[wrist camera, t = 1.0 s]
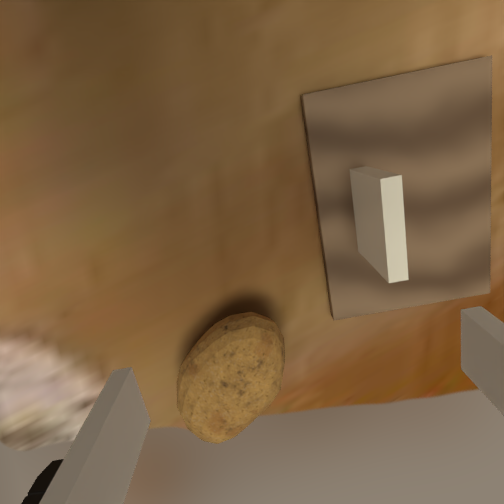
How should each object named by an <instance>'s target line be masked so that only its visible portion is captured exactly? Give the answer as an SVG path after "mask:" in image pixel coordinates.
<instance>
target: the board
mask: <svg viewBox="0 0 504 504" xmlns="http://www.w3.org/2000/svg"><path fill="white" fill-rule="evenodd" d="M301 101H302V108H303V116H304V123H305V130H306V137H307V144H308V151H309V158H310V166H311V173H312V180H313V187H314V194H315V201H316V208H317V215H318V223H319V230H320V237H321V244H322V251H323V258H324V265H325V273H326V280H327V287H328V294H329V301H330V308H331V315H332V317H333V319H334V320H340V319H345V318H351V317H357V316H362V315H368V314H374V313H379V312H385V311H391V310H396V309H402V308H408V307H413V306H419V305H425V304H430V303H436V302H441V301H447V300H453V299H458V298H464V297H470V296H475V295H481V294H487V293H490V245H491V132H492V56H487V57H482V58H477V59H473V60H468V61H463V62H458V63H453V64H448V65H444V66H439V67H434V68H429V69H424V70H419V71H415V72H410V73H405V74H400V75H395V76H390V77H386V78H381V79H376V80H371V81H366V82H361V83H357V84H352V85H347V86H342V87H337V88H332V89H328V90H323V91H318V92H313V93H308V94H303V95H302V96H301ZM364 166H367V167H371V168H375V169H380V170H384V171H388V172H392V173H396V174H400V175H402V187H403V202H404V217H405V233H406V248H407V263H408V279H409V280H404V281H399V282H393V283H388V282H387V281H386V280H385V279H384V278H383V277H382V276H381V275H380V274H379V272H378V271H377V270H376V269H375V268H374V267H373V266H372V265H371V264H370V263H369V262H368V261H367V260H366V259H365V258H364V257H363V256H362V255H361V254H360V253H359V252H358V244H357V235H356V225H355V216H354V207H353V198H352V188H351V179H350V170H349V169H354V168H359V167H364Z"/></svg>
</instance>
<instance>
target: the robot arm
mask: <svg viewBox="0 0 504 504" xmlns="http://www.w3.org/2000/svg"><path fill="white" fill-rule="evenodd" d="M461 369H462V370H463V371H464V373H465V374H466V375H467V376H468V377H469V378H470V379H471V380H472V381H473V383H474V384H475V385H476V386H477V387H478V388H479V389H480V390H481V391H482V392H483V393H484V395H485V396H486V397H487V398H488V399H489V400H490V401H491V402H492V403H493V404H494V406H495V407H496V408H497V409H498V410H499V411H500V412H501V413H502V415H503V416H504V323H503V322H501V321H500V320H499V319H497V318H496V317H495V316H493V315H492V314H491V313H489V312H488V311H487V310H485V309H484V308H483V307H481V306H479V307H474V308H468V309H462V310H461ZM149 424H150V418H149V415H148V412H147V409H146V407H145V404H144V401H143V398H142V395H141V392H140V390H139V387H138V384H137V381H136V378H135V376H134V373H133V370H132V367H130V368H124V369H118V370H113V372H112V373H111V375H110V377H109V379H108V381H107V382H106V384H105V386H104V388H103V390H102V391H101V393H100V395H99V397H98V399H97V400H96V402H95V404H94V406H93V408H92V409H91V411H90V413H89V415H88V417H87V418H86V420H85V422H84V424H83V426H82V427H81V429H80V431H79V433H78V435H77V436H76V438H75V440H74V442H73V444H72V445H71V447H70V449H69V451H68V453H67V454H66V456H65V458H64V459H61V460H56V461H52V462H51V463H50V464H49V465H48V466H47V467H46V468H45V469H44V471H43V472H42V473H41V474H40V475H39V476H38V477H37V479H36V480H35V482H34V484H33V485H32V487H31V489H30V490H29V492H28V496H26V497H25V499H24V500H23V502H22V504H123V503H124V500H125V497H126V494H127V491H128V488H129V485H130V482H131V479H132V476H133V473H134V469H135V466H136V463H137V460H138V457H139V454H140V451H141V448H142V445H143V442H144V439H145V436H146V433H147V430H148V427H149Z"/></svg>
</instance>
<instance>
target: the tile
mask: <svg viewBox="0 0 504 504" xmlns="http://www.w3.org/2000/svg"><path fill="white" fill-rule="evenodd" d="M349 170H350V179H351V188H352V198H353V207H354V216H355V225H356V235H357V244H358V252H359V253H360V254H361V255H362V256H363V257H364V258H365V259H366V260H367V261H368V262H369V263H370V264H371V265H372V266H373V267H374V268H375V269H376V270H377V271H378V272H379V274H380V275H381V276H382V277H383V278H384V279H385V280H386V281H387V282H388V283H393V282H399V281H404V280H409V279H408V263H407V248H406V233H405V217H404V202H403V187H402V175H400V174H396V173H392V172H388V171H384V170H380V169H375V168H371V167H367V166H364V167H359V168H354V169H349Z"/></svg>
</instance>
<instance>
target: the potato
mask: <svg viewBox="0 0 504 504" xmlns="http://www.w3.org/2000/svg"><path fill="white" fill-rule="evenodd" d="M284 363H285V349H284V338H283V336H282V334H281V332H280V331H279V329H278V327H277V325H276V324H275V322H274V321H272V320H271V319H270V318H269V317H266V316H263V315H260V314H257V313H254V312H246V313H241V314H235V315H230V316H228V317H226V318H224V319H223V320H221V321H219V322H217V323H215V324H214V325H213V326H212V327H211V328H210V329H209V330H208V331H207V332H206V333H204V335H203V336H202V337H201V338H200V339H199V340H198V342H197V343H196V344H195V345H194V347H193V348H192V349H191V351H190V352H189V353H188V355H187V356H186V358H185V359H184V361H183V363H182V364H181V366H180V369H179V374H178V379H177V408H178V410H179V412H180V414H181V415H182V418H183V420H184V422H185V424H186V426H187V428H188V429H189V430H190V431H191V432H192V433H194V434H195V435H196V436H197V437H199V438H200V439H201V440H203V441H206V442H211V443H216V444H218V443H221V442H223V441H226V440H229V439H231V438H233V437H235V436H237V435H238V434H239V433H240V432H241V431H242V430H244V429H245V428H246V427H247V426H248V425H249V424H250V423H251V422H252V421H254V419H256V418H257V417H258V416H259V415H260V414H261V413H262V412H263V411H264V410H266V409H267V408H268V407H269V406H270V405H271V403H272V402H273V400H274V398H275V397H276V395H277V394H278V392H279V391H280V389H281V384H282V377H283V370H284Z"/></svg>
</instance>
